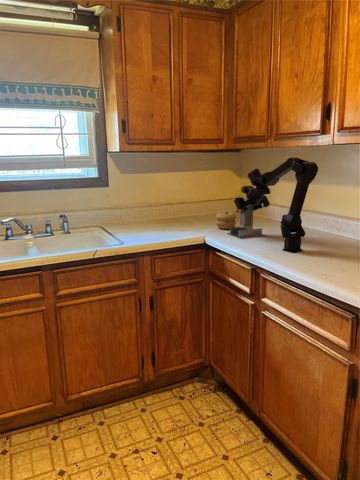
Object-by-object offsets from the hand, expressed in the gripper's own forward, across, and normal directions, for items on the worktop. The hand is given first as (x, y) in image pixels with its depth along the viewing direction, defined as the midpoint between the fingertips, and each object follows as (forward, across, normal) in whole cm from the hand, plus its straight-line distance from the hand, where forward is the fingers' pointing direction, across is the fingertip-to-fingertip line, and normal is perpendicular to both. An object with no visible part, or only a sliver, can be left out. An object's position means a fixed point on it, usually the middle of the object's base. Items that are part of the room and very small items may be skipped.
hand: (244, 212), depth 196 cm
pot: (+21, 0, -4) cm, 22 cm away
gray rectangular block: (+4, 0, +6) cm, 7 cm away
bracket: (+8, 0, +9) cm, 12 cm away
